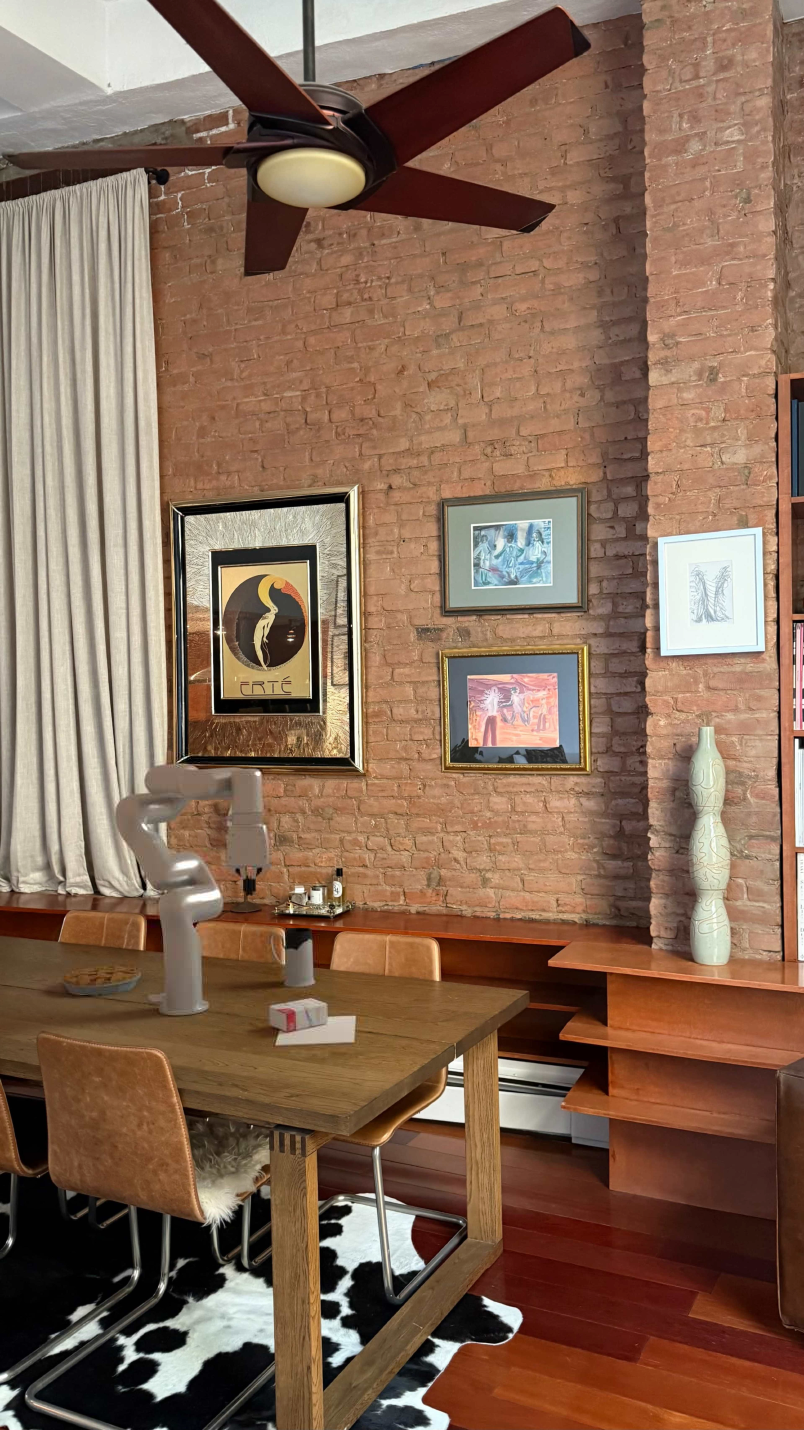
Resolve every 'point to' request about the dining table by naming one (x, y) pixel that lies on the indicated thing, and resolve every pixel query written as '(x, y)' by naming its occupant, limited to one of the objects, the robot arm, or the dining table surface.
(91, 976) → the pie
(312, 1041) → the mat
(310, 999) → the ink box
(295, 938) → the tall grey black mug
